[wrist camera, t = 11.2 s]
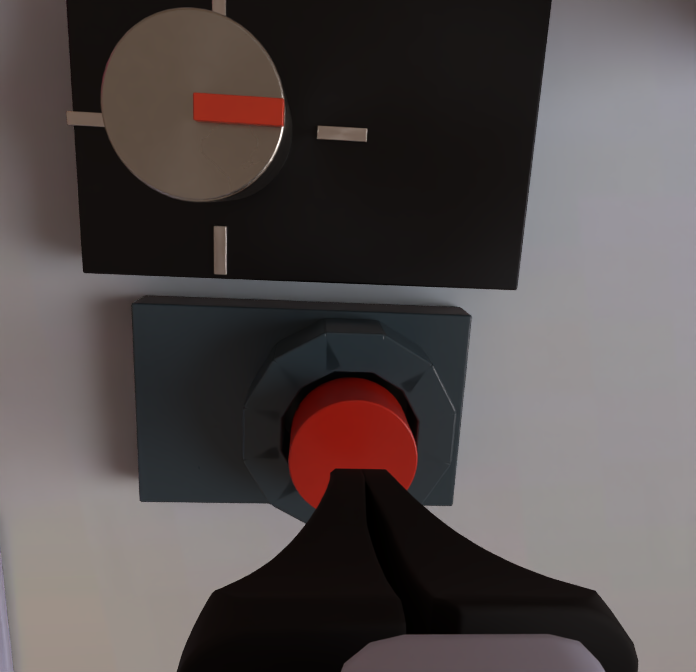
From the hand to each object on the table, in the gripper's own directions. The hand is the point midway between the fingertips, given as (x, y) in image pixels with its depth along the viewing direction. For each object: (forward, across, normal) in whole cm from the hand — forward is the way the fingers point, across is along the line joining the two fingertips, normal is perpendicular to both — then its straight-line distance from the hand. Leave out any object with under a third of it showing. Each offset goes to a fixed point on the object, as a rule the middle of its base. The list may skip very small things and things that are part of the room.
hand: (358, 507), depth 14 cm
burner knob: (+5, +4, -9) cm, 11 cm away
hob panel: (+8, +1, -9) cm, 12 cm away
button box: (+8, +1, 0) cm, 8 cm away
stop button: (+4, 0, 0) cm, 4 cm away
